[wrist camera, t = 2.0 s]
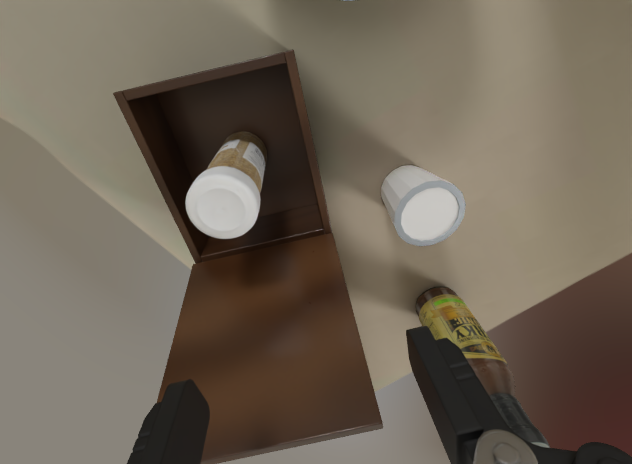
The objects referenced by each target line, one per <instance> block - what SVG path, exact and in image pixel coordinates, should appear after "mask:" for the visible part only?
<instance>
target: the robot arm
mask: <svg viewBox="0 0 632 464" xmlns="http://www.w3.org/2000/svg"><path fill="white" fill-rule="evenodd" d="M406 336H407V344H408V353H409V360H410V364H411V367H412V371H413V373H414V376H415V378H416V381H417V383H418V386H419V388H420V390H421V393H422V395H423V398H424V400H425V402H426V405H427V407H428V409H429V412H430V414H431V417H432V419H433V422H434V424H435V426H436V429H437V431H438V434H439V436H440V438H441V441H442V443H443V446H444V448H445V450H446V453H447V455H448V458H449V460H450V462H451V464H632V457H631V456H629V455H628V454H627V453H625V452H623V451H622V450H620V449H618V448H616V447H614V446H611V445H608V444H604V443H599V442H590V443H586V444H584V445H582V446H581V447H580V448H579V449H578V451H577V452H576V451H569V450H561V449H554V448H547V447H542V446H538V445H535V444H533V443H530V442H528V441H526V440H525V439H523V438H521V437H520V436H519V435H517V434H516V433H515V432H514V431H513V430H512V429H511V428H510V427H509V426H508V425H507V423H506V422H505V421H504V419H503V417H502V416H501V414H500V413H499V411H498V409H497V408H496V406H495V404H494V403H493V401H492V400H491V398H490V396H489V395H488V393H487V391H486V390H485V388H484V387H483V385H482V383H481V382H480V380H479V378H478V377H477V376H476V374H475V372H474V370H473V369H472V367H471V365H469V363H468V361H467V359H466V357H465V356H464V354H463V352H462V351H461V349H460V348H459V347H458V346H457V345H455V344H454V343H453V342H452V341H450V340H449V339H448V338H442V339H438V340H435V338H434V336H433V334H432V333H431V331H430V329H429V328H428V326H422V327H418V328H413V329H409V330H406ZM209 420H210V409H209V405H208V402H207V401H206V399H205V398H204V396H203V395H202V393H201V392H200V390H199V389H198V387H197V386H196V384H195V382H194V381H193V380H191V379H189V380H184V381H180V382H176V383H171V384H169V385H168V386H167V388H166V390H165V393H164V396H163V398H162V401H161V402H159V403H156V404H155V405H154V406H153V408H152V409H151V411H150V412H149V413H148V415H147V416H146V418H145V420H144V422H143V424H142V427H141V430H140V432H139V434H138V439H137V440H136V442H135V445H134V447H133V453H131V455H130V458H129V460H128V463H127V464H200V463H201V459H202V454H203V449H204V444H205V439H206V435H207V430H208V425H209Z"/></svg>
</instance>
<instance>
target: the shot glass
mask: <svg viewBox="0 0 632 464" xmlns="http://www.w3.org/2000/svg"><path fill="white" fill-rule="evenodd" d="M381 197H382V200H383V202H384V204H385V206H386V209H387V211H388V213H389V215H390V217H391V220H392V222H393V224H394V226H395V229H396V231H397V233H398V235H399V237H401V238H402V239H403V240H404V241H406V242H407V243H408V244H412V245H416V246H427V245H434V244H436V243H438V242H440V241H443V240H445V239H446V238H448V237H449V236H450V235H451V234H452V233H453V232H454V231H455V230H457V228H458V226H459V224H460V223H461V221H462V219H463V218H464V212H465V206H466V204H465V201H464V197H463V194H462V192H461V191H460V190H459V189H458V188H457V187H456V186H455V185H454V184H452V183H450V182H448V181H446V180H444V179H442V178H440V177H438V176H436V175H434V174H432V173H430V172H428V171H426V170H424V169H422V168H420V167H417V166H414V165H405V166H400V167H398V168H396V169H395V170H393V171H391V173H390V174H389V175H388V176H387V177H386V178H385V180H384V182H383V184H382V187H381Z"/></svg>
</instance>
